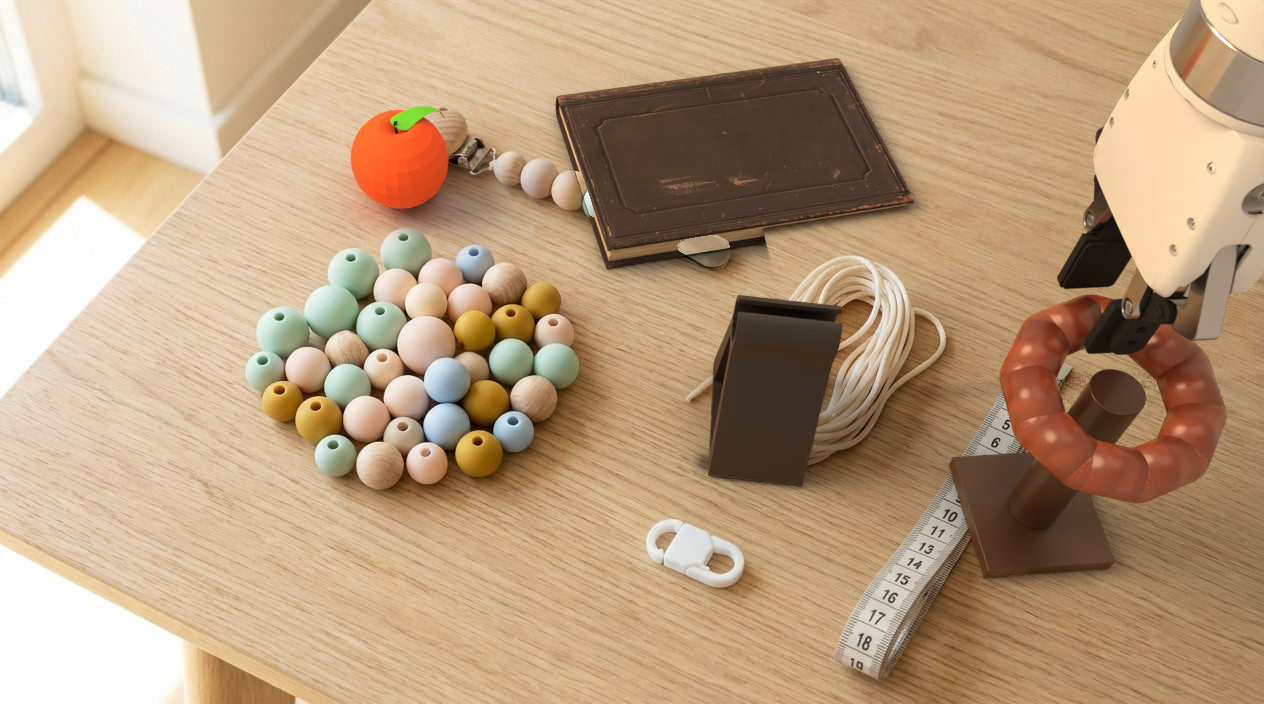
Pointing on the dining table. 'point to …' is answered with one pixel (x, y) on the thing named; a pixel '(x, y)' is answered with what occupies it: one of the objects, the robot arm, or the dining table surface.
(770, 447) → the phone stand
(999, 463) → the peg
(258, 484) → the dining table surface
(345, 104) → the dining table surface
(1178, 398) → the ring
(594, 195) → the hardcover book
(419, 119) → the clementine
